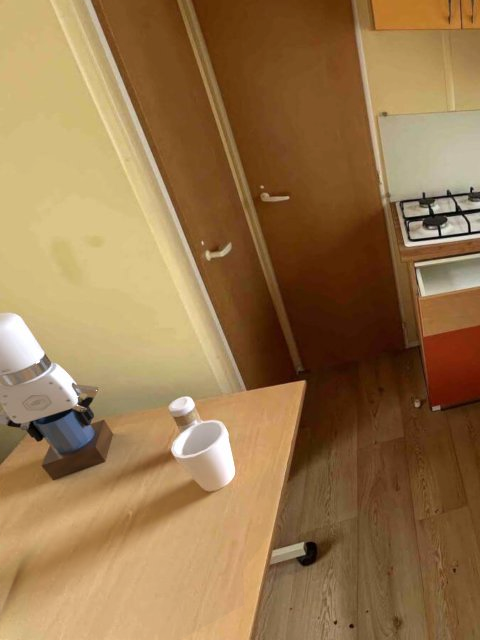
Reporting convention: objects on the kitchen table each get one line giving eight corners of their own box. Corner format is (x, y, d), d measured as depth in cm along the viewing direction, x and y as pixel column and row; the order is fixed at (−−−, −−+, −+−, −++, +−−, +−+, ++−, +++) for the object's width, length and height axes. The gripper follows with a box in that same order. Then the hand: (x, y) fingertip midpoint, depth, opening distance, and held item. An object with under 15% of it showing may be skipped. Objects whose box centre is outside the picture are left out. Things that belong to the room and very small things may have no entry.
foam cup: (182, 492, 91) (159, 452, 85) (218, 455, 99) (199, 416, 93) (218, 502, 89) (197, 462, 83) (252, 464, 97) (235, 424, 91)
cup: (50, 458, 92) (28, 430, 88) (59, 436, 97) (39, 408, 93) (90, 445, 95) (71, 417, 91) (97, 424, 101) (79, 396, 96)
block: (52, 480, 93) (41, 465, 91) (64, 450, 100) (53, 435, 98) (105, 461, 97) (95, 446, 95) (113, 433, 104) (104, 419, 102)
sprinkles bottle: (214, 434, 104) (195, 394, 98) (206, 449, 100) (186, 409, 94) (193, 437, 103) (173, 397, 97) (184, 453, 99) (163, 412, 93)
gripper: (-48, 397, 79) (5, 459, 88) (75, 364, 87) (112, 424, 96) (-30, 373, 85) (18, 433, 93) (84, 344, 93) (119, 402, 101)
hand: (66, 428), depth 94 cm, fingers open, 7 cm apart
